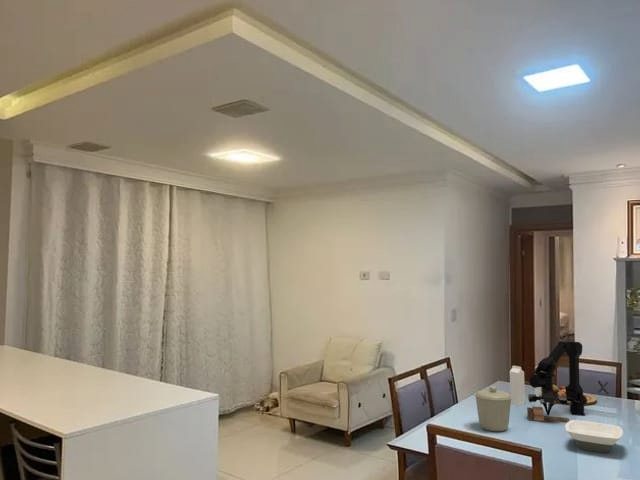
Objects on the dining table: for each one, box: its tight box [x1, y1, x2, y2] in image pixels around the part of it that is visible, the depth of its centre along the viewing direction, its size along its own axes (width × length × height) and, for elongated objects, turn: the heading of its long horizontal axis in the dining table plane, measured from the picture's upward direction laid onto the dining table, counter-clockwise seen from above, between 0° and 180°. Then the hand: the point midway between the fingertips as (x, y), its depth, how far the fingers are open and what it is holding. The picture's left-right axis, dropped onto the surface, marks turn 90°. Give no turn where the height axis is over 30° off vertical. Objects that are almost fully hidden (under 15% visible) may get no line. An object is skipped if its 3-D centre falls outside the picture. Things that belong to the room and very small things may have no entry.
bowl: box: [564, 419, 624, 454], centre depth 226 cm, size 22×23×8 cm
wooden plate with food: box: [539, 384, 598, 406], centre depth 313 cm, size 32×32×8 cm
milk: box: [509, 365, 526, 406], centre depth 303 cm, size 6×6×22 cm
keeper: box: [531, 405, 545, 422], centre depth 270 cm, size 5×7×6 cm
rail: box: [526, 406, 571, 424], centre depth 268 cm, size 20×7×5 cm, turn 73°
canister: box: [473, 385, 512, 432], centre depth 254 cm, size 18×18×21 cm
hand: (548, 415), depth 268 cm, fingers closed
